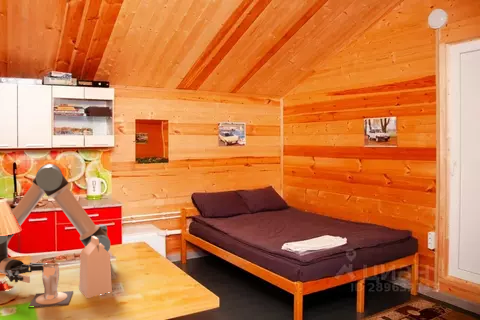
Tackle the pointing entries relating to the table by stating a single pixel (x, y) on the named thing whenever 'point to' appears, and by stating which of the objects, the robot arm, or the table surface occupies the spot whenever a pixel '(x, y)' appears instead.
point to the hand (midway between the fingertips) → (42, 275)
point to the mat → (60, 301)
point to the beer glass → (50, 280)
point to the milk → (95, 269)
